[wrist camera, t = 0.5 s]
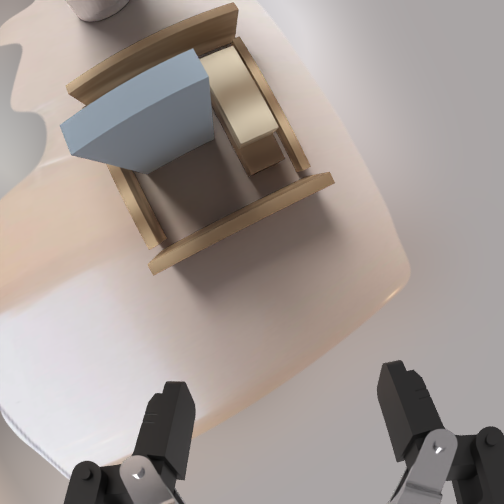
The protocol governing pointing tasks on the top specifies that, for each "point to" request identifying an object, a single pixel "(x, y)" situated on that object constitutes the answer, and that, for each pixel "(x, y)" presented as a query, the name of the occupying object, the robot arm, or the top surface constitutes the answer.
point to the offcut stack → (242, 111)
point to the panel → (146, 118)
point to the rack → (202, 41)
